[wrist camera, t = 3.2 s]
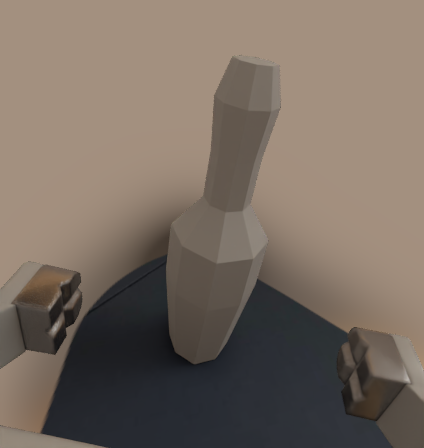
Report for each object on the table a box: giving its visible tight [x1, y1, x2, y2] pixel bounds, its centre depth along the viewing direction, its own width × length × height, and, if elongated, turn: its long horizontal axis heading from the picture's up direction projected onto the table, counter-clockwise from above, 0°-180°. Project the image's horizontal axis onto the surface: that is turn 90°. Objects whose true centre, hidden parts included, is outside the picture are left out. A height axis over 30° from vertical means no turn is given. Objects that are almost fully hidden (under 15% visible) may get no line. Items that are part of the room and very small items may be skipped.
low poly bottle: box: [166, 55, 281, 364], centre depth 24 cm, size 6×6×22 cm
